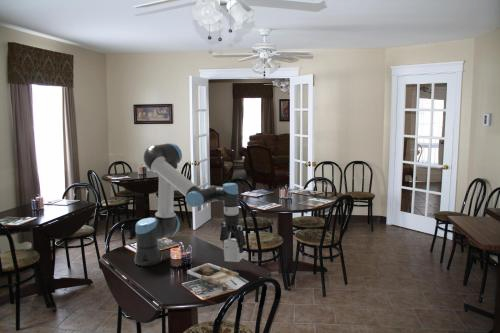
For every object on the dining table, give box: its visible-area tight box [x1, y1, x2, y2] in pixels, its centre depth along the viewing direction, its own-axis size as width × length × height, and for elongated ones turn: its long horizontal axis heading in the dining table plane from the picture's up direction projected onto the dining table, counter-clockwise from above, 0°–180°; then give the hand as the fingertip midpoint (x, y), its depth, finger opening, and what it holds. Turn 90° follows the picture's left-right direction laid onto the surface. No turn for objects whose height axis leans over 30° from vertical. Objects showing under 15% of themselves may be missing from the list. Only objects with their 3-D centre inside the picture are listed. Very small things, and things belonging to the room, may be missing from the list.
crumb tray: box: [186, 262, 222, 280], centre depth 219 cm, size 11×14×3 cm
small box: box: [223, 237, 242, 263], centre depth 221 cm, size 8×6×10 cm
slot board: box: [201, 267, 240, 286], centre depth 211 cm, size 12×14×3 cm
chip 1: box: [198, 265, 211, 273], centre depth 221 cm, size 4×4×2 cm
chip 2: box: [202, 267, 215, 276], centre depth 217 cm, size 4×4×2 cm
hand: (233, 256), depth 221 cm, fingers closed on small box, 9 cm apart
